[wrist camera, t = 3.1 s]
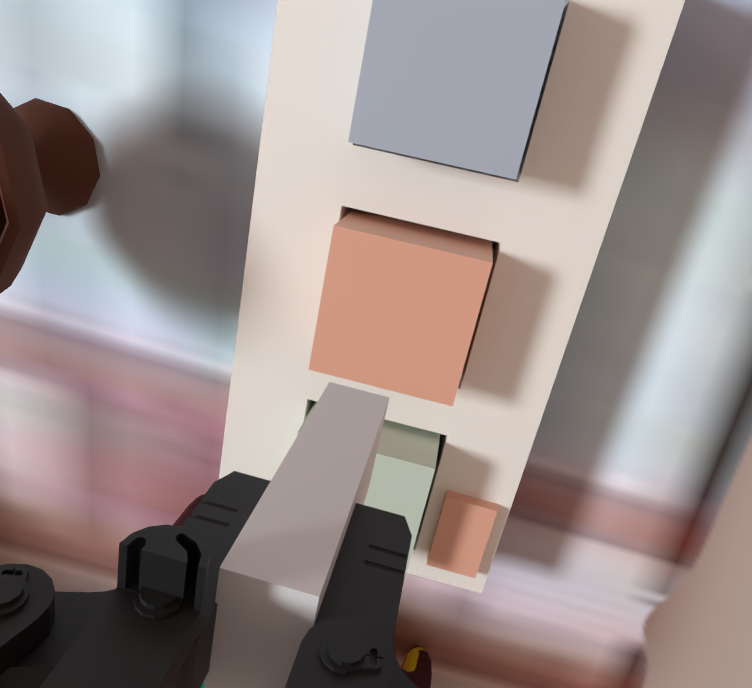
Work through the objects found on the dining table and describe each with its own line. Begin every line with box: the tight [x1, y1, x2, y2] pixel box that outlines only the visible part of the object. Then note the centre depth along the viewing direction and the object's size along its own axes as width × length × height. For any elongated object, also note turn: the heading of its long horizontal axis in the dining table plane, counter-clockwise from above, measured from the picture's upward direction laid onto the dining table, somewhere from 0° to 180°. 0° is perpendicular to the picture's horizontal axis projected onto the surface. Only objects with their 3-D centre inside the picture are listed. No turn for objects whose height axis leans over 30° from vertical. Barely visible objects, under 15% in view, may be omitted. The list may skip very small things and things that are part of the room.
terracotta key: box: [308, 209, 493, 406], centre depth 26 cm, size 6×6×4 cm
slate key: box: [348, 0, 566, 180], centre depth 23 cm, size 6×6×4 cm
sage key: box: [297, 402, 440, 579], centre depth 30 cm, size 6×6×4 cm
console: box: [219, 0, 685, 593], centre depth 28 cm, size 28×14×5 cm, turn 169°
